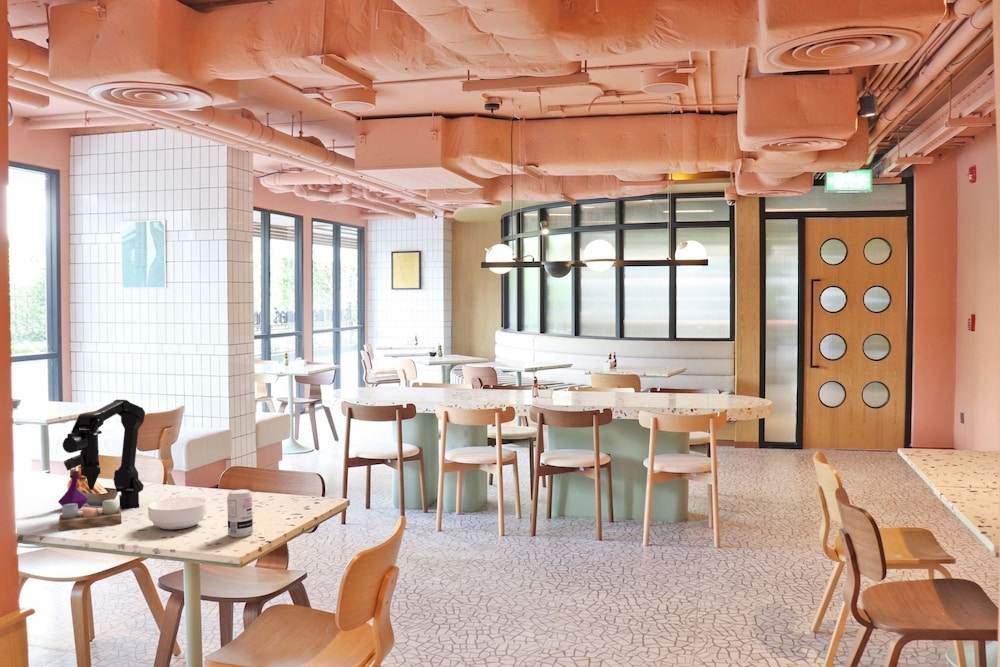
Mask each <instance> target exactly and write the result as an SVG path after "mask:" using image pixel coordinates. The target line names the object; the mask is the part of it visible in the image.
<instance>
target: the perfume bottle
mask: <svg viewBox="0 0 1000 667" xmlns="http://www.w3.org/2000/svg"><path fill="white" fill-rule="evenodd" d="M76 468H77V467H74V468H73V469H74V470H72V471H71V472H70V473H71V475H69V478H70V479H71V482H70V486H69V487H68V489H67V491H66V492H65V493H64V495H63V496H62V497H61V498H60V499H59V500H58V504H59V505H60V506H61V507H62V506H63V505H65V504H72V503H76V504H78V509H80V508H82V507H83V506H85V504H86V502H87V501H88V499H89V498H88V497H87V496H86V495H84V494H83V493H82V492H81V491H80V490H79V489H78V486H77V485H78V480H79V479H80V478H81V477H82V476H81V470H77V469H76Z"/></svg>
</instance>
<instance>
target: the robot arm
mask: <svg viewBox="0 0 1000 667" xmlns="http://www.w3.org/2000/svg"><path fill="white" fill-rule="evenodd" d="M115 415H118V416H119V417H120V423H121V424H122V426H123V428H124V434H123V442H122V443H123V444H122V452H121V462H120V466H119V467H118V469H115V470H114V472H113V473H114V474H113V475H114V476H113V480H112V481H113V485H114V488H115V490H116V492H117V493H120V494H119V508H120V510H125V509H134V508H135V509H136V508H140V497H139V496H140V494H139V493H141V492H142V491H143V490H144V483H143V482H142V481H141V480H140V479H139V472H138V470H137V468H136V458H137V446H138V445H137V444H138V436H139V430H140V428H141V427H142V426H143V424H144V421H145V415H146V411H145V410H144V408H142V407H141V406H139V405H137V404H135V403H133V402H130V401H129V400H126V399H115V400H114V401H113V402H111V403H108V404H106V405H104V406H102V407H100V408H99V409H96V410H95V411H87V412H83V413H80V414H79V415H77V419H76V421H75V423H74V425H73V428H72V429H71V432H70V433H68V434H67V436H66V437H65V438H64V440H63V442H62V448H63V450H64V451H65V452H66V453H67V454H71V453H76V452H79V454H78V455H75V456H73V457H70V458H67V459H65V460H64V461H63V464H64V467H65V469H66V470H67V471H71V470H72V469H75V468H74V467H76V468H77V467H80V468H81V469H80V475H81V477H82V476H84V477H85V479H86V482H87V485H88V489H89V490H88V491H93V489H94V488H95V484H96V483H97V480H98V478H99V475H101V466H100V460H99V458H100V457H99V456H100V455H99V452H100V451H99V435H100V434H102V433H103V432H102V431H101V430H100V428H101V426H102V427H103V425H104V422H105V421H106V420H108V419H110V418H112V417H114V416H115Z"/></svg>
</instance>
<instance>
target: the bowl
mask: <svg viewBox="0 0 1000 667" xmlns="http://www.w3.org/2000/svg"><path fill="white" fill-rule="evenodd" d="M207 505H208V502H207V500H206V498H203V497H198V496H179V497H178V496H175V497H171V498H170V497H169V498H164V499H158V500H156V501H152V502H151V503H149V504H148V505H147V511H148V512H147V513H148V519H149V521H150V522H152V524H153V525H155V526H157V527H158V528H160V529H162V530H178V529H179V530H180V529H186V528H190V527H193V526H196V525H197V524H198V523H199V522H201V521H202V520H203V519H204V517H205V516H206V515H207V513H208V512H207V510H208V509H207V508H208V506H207Z"/></svg>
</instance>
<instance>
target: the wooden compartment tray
mask: <svg viewBox="0 0 1000 667" xmlns="http://www.w3.org/2000/svg"><path fill="white" fill-rule="evenodd" d="M121 510H122V509H121V507H118V514H111V515H103V509H98V516H92V517H83V511H81V512H78V518H74V519H65V520H63V518H62V514H59V519H58V531H59V530H61V531H69V530H76V529H78V530H79V529H85V528H92V527H93V528H96V527H101V526H102V527H103V526H111V525H120V524H122V511H121Z"/></svg>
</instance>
